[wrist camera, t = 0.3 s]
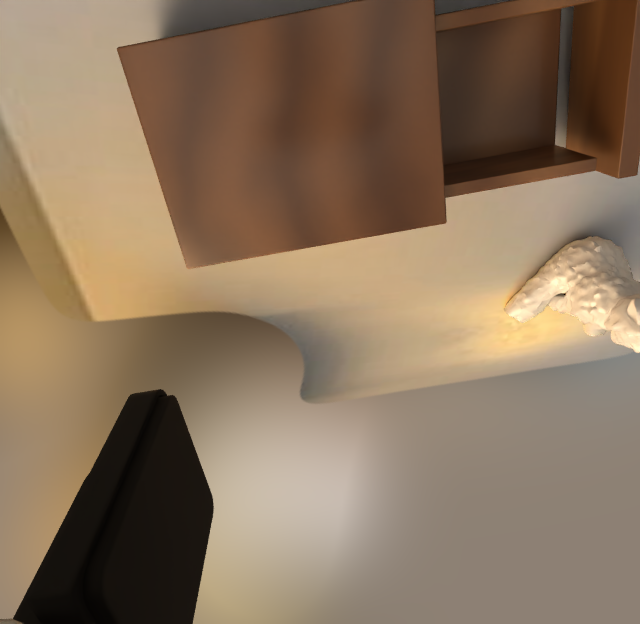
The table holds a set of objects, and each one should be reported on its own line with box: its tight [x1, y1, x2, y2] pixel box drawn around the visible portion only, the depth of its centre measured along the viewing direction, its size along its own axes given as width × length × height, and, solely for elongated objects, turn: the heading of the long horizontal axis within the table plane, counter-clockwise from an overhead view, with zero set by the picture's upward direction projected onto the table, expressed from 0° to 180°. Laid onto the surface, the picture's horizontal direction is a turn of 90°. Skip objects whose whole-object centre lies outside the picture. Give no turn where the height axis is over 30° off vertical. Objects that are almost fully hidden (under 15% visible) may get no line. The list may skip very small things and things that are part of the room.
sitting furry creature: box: [504, 236, 640, 353], centre depth 37 cm, size 10×9×12 cm
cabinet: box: [117, 0, 446, 269], centre depth 32 cm, size 17×13×9 cm
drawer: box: [435, 0, 640, 198], centre depth 31 cm, size 20×11×7 cm, turn 100°
